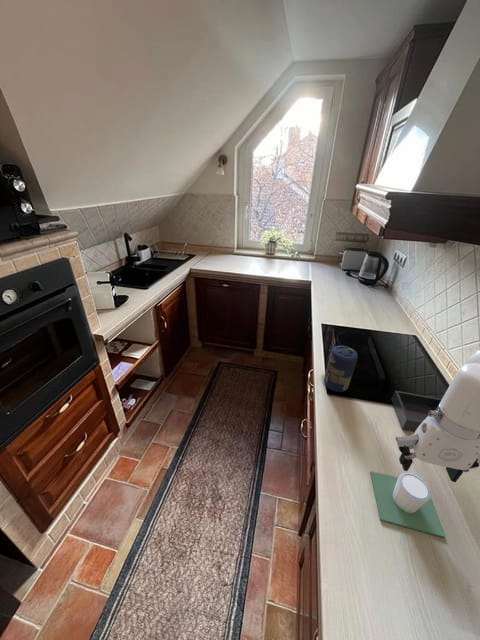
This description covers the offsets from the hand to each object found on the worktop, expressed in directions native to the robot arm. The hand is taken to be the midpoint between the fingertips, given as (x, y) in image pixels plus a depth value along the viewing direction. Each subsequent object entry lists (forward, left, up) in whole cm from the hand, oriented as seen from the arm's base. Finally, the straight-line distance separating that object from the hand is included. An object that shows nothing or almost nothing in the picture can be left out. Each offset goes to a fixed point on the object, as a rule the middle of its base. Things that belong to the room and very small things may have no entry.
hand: (426, 470), depth 59 cm
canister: (+14, -40, -14) cm, 45 cm away
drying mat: (0, 0, -14) cm, 14 cm away
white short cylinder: (0, 0, -14) cm, 14 cm away
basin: (-14, -31, -14) cm, 37 cm away
